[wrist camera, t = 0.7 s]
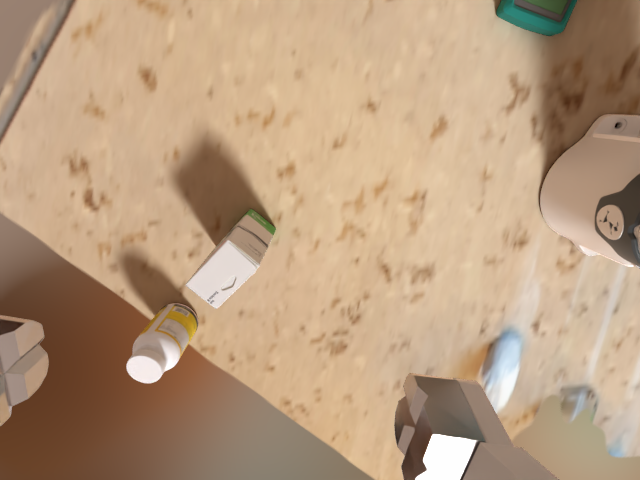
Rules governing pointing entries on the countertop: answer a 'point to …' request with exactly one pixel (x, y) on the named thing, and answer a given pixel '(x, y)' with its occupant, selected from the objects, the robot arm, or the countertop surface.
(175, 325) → the pill bottle
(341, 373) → the countertop surface
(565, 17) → the digital multimeter
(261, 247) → the ink box
